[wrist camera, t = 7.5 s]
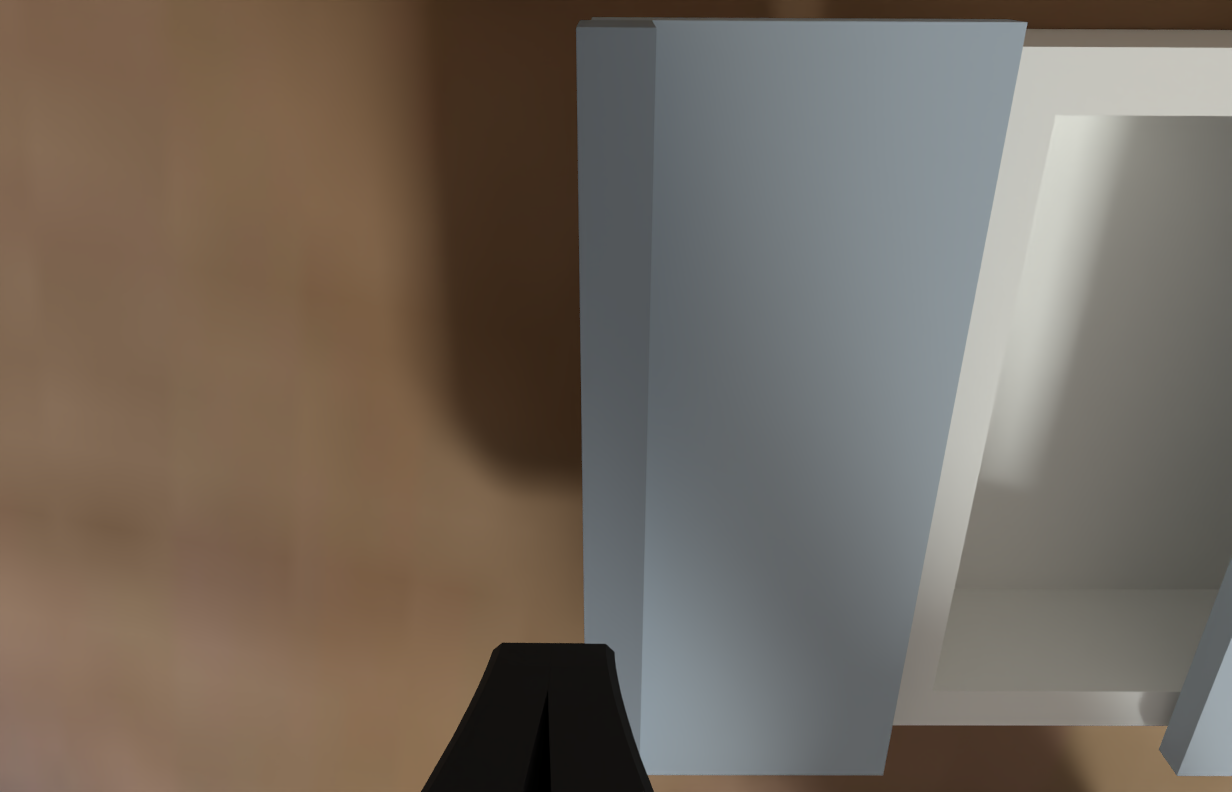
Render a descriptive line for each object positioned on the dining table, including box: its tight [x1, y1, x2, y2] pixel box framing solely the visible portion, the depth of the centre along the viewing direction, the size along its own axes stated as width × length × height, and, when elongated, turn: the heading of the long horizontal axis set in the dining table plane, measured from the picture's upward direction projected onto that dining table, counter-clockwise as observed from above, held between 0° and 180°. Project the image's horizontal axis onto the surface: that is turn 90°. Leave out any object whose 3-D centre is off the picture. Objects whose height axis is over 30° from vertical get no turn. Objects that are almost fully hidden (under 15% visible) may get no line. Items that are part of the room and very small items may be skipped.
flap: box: [576, 17, 1028, 775], centre depth 15 cm, size 15×6×2 cm, turn 0°
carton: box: [893, 29, 1232, 726], centre depth 18 cm, size 14×12×4 cm
